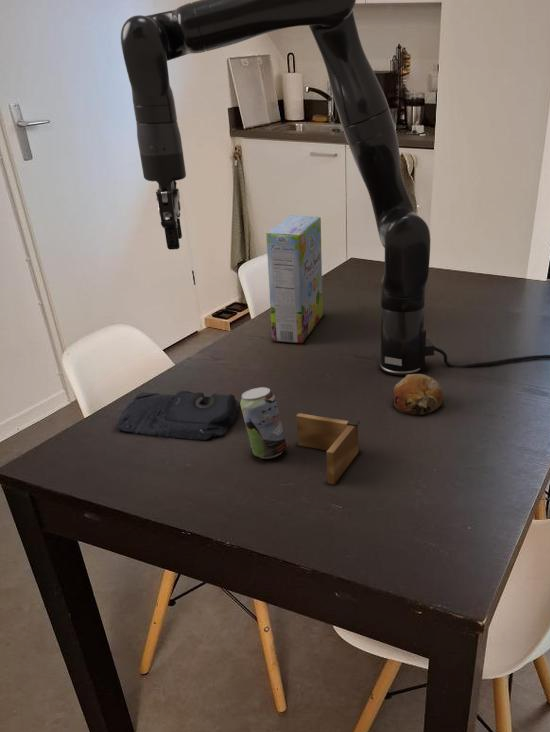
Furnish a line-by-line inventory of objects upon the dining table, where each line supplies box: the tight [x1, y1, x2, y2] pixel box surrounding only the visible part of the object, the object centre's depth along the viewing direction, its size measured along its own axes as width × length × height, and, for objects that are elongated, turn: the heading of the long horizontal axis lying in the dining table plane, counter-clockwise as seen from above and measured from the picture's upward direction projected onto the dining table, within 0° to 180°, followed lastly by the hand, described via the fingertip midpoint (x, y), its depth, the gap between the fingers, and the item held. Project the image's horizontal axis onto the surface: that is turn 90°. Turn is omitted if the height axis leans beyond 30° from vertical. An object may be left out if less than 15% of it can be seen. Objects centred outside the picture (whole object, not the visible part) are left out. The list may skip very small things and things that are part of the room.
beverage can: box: [239, 386, 287, 460], centre depth 119 cm, size 6×7×12 cm
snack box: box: [265, 214, 324, 344], centre depth 170 cm, size 22×9×26 cm, turn 170°
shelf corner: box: [295, 412, 361, 485], centre depth 118 cm, size 12×12×6 cm
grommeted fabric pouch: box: [114, 390, 240, 441], centre depth 133 cm, size 15×22×5 cm
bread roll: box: [392, 373, 443, 416], centre depth 137 cm, size 10×10×8 cm
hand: (175, 243), depth 132 cm, fingers open, 8 cm apart
